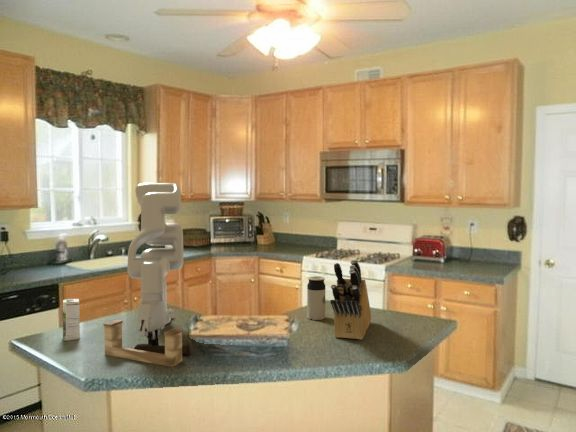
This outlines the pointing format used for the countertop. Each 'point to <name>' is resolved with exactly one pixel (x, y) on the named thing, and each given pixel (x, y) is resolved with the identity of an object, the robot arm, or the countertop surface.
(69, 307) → the syrup box
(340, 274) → the knife block
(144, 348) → the hand tool
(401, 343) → the countertop surface
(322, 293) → the travel mug
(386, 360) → the countertop surface
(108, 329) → the wooden u-shaped stand
